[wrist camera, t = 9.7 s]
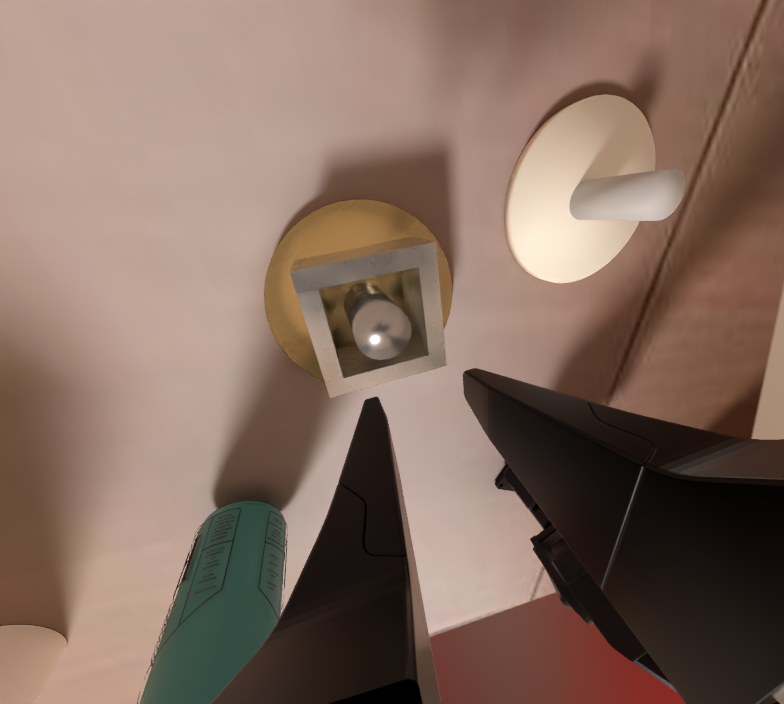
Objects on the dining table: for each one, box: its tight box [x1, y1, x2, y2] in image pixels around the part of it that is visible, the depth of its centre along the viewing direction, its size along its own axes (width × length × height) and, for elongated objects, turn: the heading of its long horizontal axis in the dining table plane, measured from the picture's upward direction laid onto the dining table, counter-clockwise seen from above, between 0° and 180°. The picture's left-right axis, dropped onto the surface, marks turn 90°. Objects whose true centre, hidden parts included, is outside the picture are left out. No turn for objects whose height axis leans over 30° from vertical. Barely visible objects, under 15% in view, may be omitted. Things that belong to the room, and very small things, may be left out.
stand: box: [504, 94, 686, 283], centre depth 17 cm, size 11×11×6 cm
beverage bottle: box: [137, 501, 288, 704], centre depth 15 cm, size 6×7×20 cm
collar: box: [290, 237, 446, 398], centre depth 17 cm, size 7×7×4 cm
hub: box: [264, 199, 452, 380], centre depth 17 cm, size 12×12×6 cm
